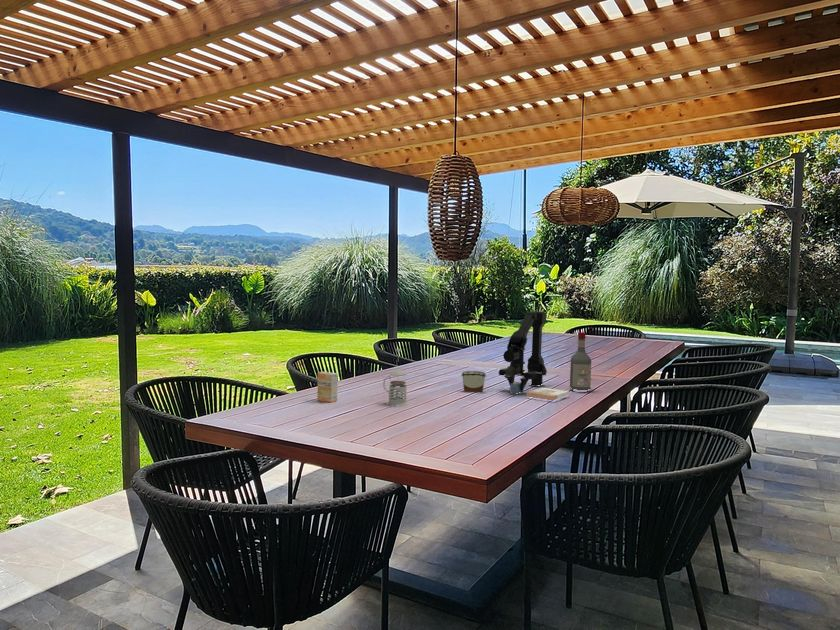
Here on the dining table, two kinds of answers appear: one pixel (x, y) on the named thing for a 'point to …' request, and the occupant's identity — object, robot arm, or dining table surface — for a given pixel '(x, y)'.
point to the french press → (397, 388)
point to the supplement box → (327, 386)
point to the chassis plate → (547, 393)
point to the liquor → (580, 366)
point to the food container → (473, 381)
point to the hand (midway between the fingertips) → (516, 390)
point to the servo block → (515, 387)
